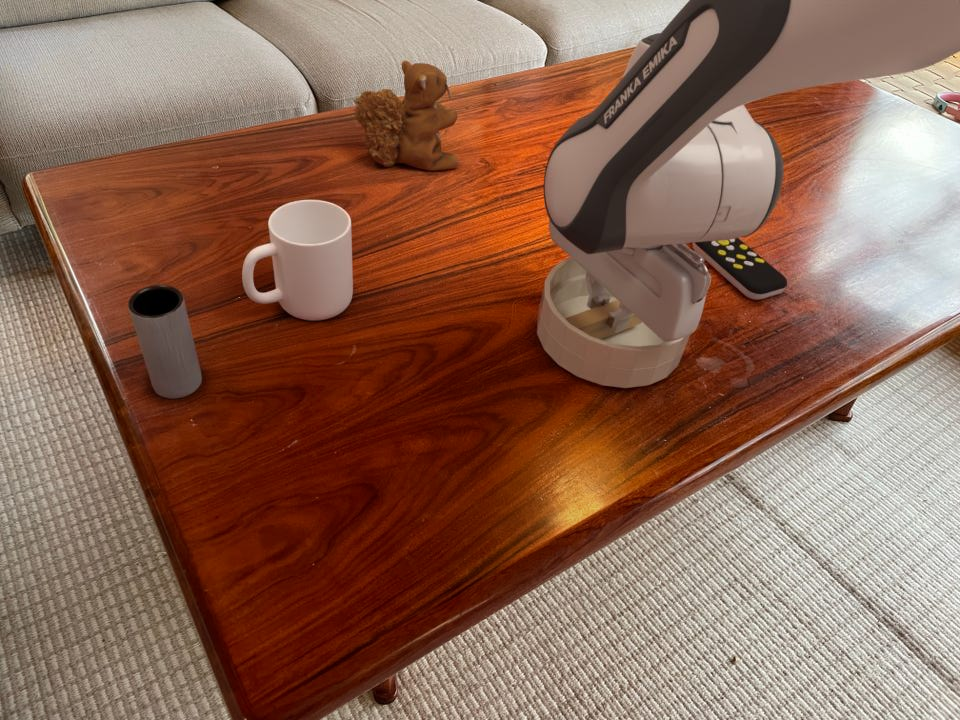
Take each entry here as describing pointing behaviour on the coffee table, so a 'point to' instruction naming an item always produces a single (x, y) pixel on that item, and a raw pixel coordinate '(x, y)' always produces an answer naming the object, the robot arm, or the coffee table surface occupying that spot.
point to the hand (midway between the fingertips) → (605, 317)
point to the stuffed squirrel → (409, 120)
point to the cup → (306, 260)
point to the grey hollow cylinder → (166, 340)
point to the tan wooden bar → (599, 320)
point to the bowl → (599, 360)
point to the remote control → (742, 267)
